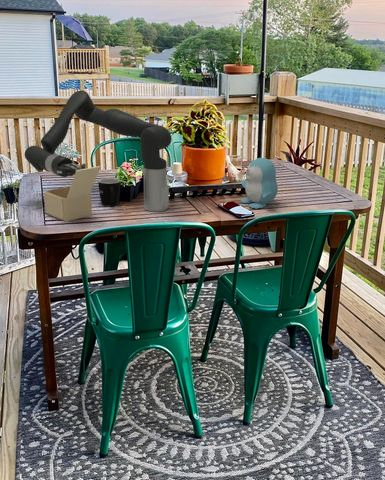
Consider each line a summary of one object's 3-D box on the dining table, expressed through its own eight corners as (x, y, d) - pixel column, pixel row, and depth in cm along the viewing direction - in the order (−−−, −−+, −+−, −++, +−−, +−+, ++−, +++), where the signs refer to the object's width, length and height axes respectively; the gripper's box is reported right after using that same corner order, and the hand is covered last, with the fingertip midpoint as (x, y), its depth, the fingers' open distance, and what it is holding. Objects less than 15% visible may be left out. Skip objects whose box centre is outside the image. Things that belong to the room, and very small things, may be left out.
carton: (44, 213, 194) (42, 191, 191) (71, 206, 203) (70, 185, 200) (64, 222, 185) (63, 198, 182) (93, 214, 194) (91, 192, 191)
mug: (97, 201, 210) (96, 178, 207) (118, 200, 213) (117, 177, 210) (102, 210, 200) (101, 185, 196) (124, 208, 203) (123, 184, 199)
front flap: (76, 170, 173) (76, 171, 173) (100, 165, 181) (100, 166, 180) (66, 198, 182) (67, 199, 182) (89, 193, 190) (90, 193, 189)
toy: (232, 198, 220) (235, 153, 213) (260, 195, 225) (264, 152, 218) (257, 213, 200) (261, 164, 192) (288, 210, 204) (292, 162, 197)
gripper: (43, 158, 184) (69, 166, 173) (73, 153, 193) (99, 161, 182) (44, 177, 187) (70, 187, 176) (74, 172, 196) (100, 180, 185)
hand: (85, 173), depth 179 cm, fingers closed
